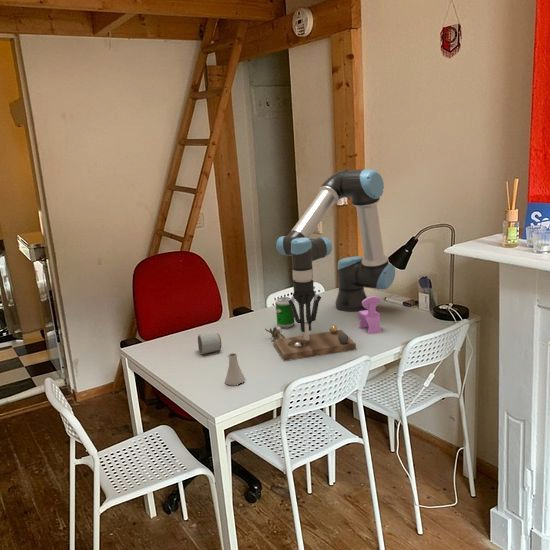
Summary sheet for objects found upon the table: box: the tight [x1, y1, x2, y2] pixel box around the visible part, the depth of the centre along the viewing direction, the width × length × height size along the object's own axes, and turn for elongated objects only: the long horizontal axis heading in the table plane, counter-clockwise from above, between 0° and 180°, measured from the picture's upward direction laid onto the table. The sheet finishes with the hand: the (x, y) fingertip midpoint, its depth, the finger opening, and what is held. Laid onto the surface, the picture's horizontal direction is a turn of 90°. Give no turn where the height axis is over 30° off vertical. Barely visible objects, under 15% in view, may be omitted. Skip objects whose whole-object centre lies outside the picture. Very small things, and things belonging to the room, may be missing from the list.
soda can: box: [275, 296, 295, 329], centre depth 248 cm, size 8×8×12 cm
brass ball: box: [329, 325, 338, 333], centre depth 229 cm, size 3×3×3 cm
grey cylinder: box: [197, 332, 222, 355], centre depth 227 cm, size 11×8×8 cm
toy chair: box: [358, 295, 383, 335], centre depth 236 cm, size 8×9×15 cm
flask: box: [224, 352, 246, 386], centre depth 196 cm, size 7×7×10 cm
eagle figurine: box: [264, 325, 286, 343], centre depth 232 cm, size 8×7×9 cm
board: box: [273, 329, 357, 361], centre depth 222 cm, size 28×16×2 cm, turn 103°
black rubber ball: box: [338, 332, 349, 343], centre depth 218 cm, size 4×4×4 cm
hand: (306, 339), depth 221 cm, fingers closed
